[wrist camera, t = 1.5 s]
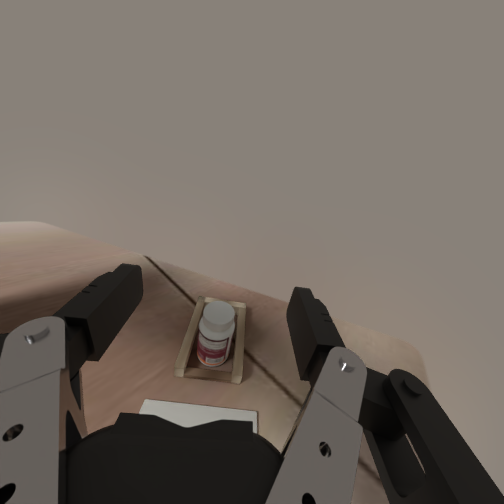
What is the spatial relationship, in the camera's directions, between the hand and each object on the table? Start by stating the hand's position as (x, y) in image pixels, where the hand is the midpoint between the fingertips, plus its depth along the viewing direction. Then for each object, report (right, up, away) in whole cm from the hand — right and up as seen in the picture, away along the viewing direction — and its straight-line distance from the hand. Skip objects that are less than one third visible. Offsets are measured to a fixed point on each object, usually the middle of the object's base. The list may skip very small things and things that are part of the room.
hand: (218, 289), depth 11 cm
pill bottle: (-4, -13, +19) cm, 24 cm away
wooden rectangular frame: (-4, -12, +21) cm, 24 cm away
